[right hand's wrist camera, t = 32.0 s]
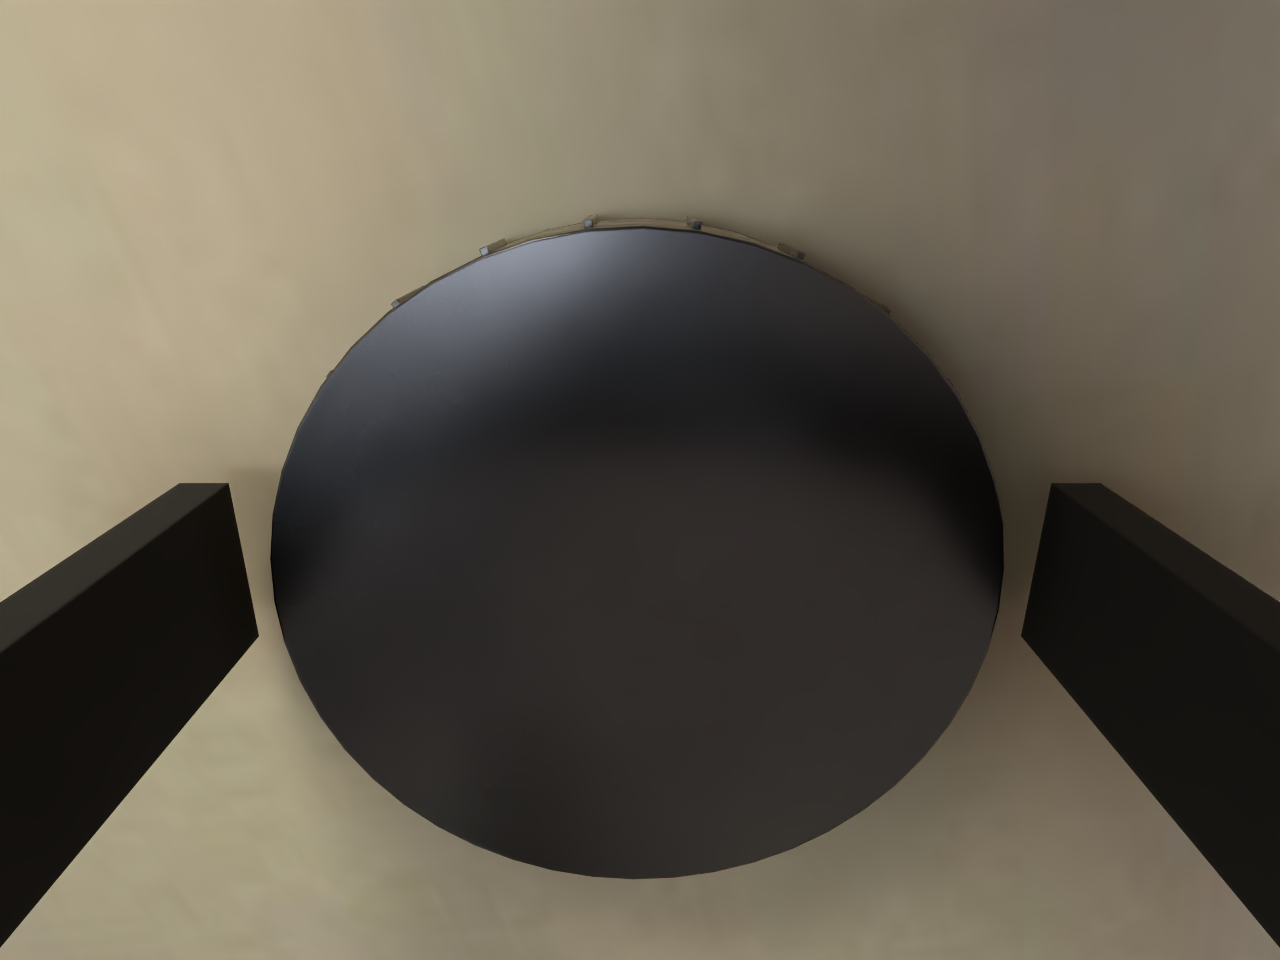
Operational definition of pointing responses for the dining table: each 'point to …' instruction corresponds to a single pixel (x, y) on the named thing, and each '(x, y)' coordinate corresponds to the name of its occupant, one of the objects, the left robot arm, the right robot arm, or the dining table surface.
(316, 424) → the lid
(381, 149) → the dining table surface
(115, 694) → the right robot arm
